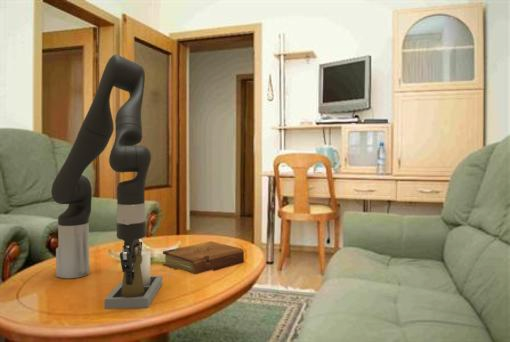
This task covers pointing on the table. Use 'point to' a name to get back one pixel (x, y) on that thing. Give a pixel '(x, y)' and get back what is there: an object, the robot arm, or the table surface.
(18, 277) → the table surface
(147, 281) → the cylinder
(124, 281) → the cork
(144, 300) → the tray
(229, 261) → the diary
